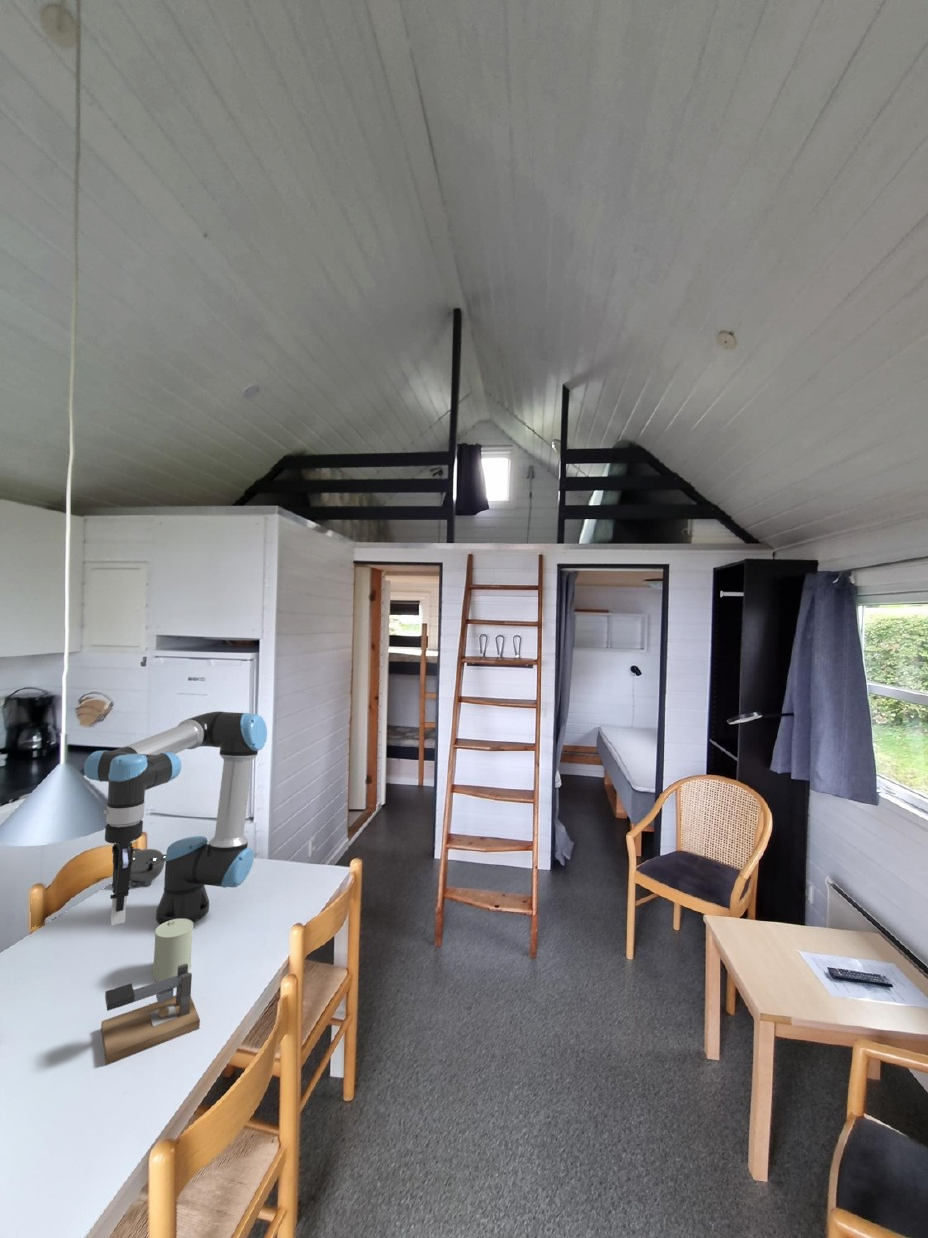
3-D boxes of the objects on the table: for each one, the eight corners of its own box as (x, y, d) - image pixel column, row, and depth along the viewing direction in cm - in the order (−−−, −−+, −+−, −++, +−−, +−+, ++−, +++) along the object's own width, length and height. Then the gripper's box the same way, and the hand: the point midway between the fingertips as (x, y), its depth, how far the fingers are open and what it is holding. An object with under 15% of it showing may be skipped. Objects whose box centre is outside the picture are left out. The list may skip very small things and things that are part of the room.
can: (184, 956, 149) (187, 913, 149) (195, 972, 142) (198, 927, 142) (147, 969, 142) (150, 924, 143) (157, 987, 136) (160, 939, 136)
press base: (101, 1030, 121) (104, 981, 121) (188, 999, 132) (190, 954, 132) (106, 1065, 111) (109, 1012, 112) (199, 1028, 123) (202, 980, 123)
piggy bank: (124, 877, 192) (126, 845, 193) (170, 874, 196) (172, 843, 196) (112, 892, 181) (114, 858, 182) (160, 888, 185) (162, 855, 185)
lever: (104, 1011, 118) (105, 991, 118) (186, 983, 128) (188, 965, 129) (106, 1025, 114) (107, 1004, 114) (191, 995, 125) (192, 976, 125)
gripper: (103, 816, 129) (96, 915, 128) (108, 833, 118) (101, 941, 118) (139, 811, 133) (132, 906, 132) (147, 827, 123) (140, 930, 122)
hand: (117, 922), depth 125 cm, fingers closed
